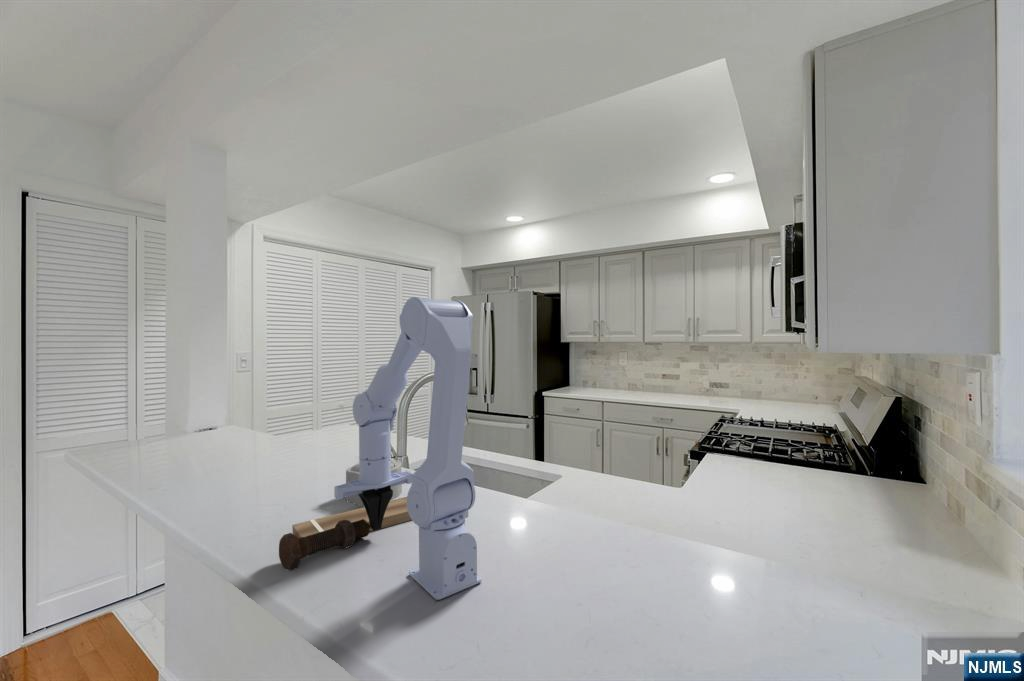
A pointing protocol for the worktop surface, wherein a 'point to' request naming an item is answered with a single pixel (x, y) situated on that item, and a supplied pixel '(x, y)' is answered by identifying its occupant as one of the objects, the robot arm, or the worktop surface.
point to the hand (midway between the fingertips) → (375, 528)
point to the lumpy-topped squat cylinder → (353, 475)
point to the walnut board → (354, 518)
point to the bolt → (320, 541)
